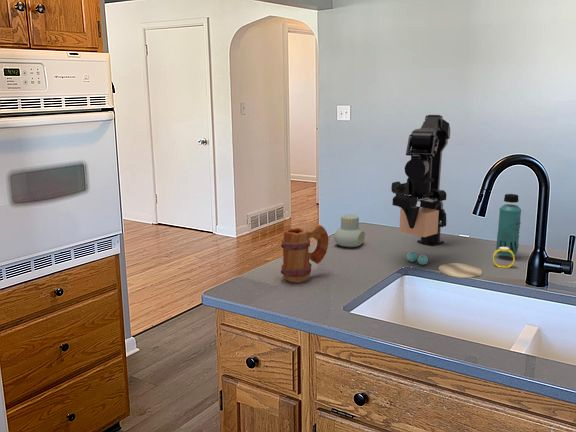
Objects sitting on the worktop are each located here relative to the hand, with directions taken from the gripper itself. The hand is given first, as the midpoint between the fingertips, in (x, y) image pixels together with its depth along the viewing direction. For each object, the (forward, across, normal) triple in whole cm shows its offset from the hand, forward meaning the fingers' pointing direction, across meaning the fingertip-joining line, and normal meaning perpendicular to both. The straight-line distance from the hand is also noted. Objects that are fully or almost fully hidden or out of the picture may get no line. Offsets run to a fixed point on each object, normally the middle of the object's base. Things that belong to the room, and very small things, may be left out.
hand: (418, 226), depth 172 cm
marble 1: (+11, 0, -2) cm, 12 cm away
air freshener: (+12, +1, -27) cm, 29 cm away
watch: (+12, -16, +19) cm, 27 cm away
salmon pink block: (+2, 0, 0) cm, 2 cm away
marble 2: (+11, 0, +2) cm, 12 cm away
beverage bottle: (+12, -25, +15) cm, 31 cm away
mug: (+12, +35, -12) cm, 39 cm away
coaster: (+11, -3, +13) cm, 18 cm away
